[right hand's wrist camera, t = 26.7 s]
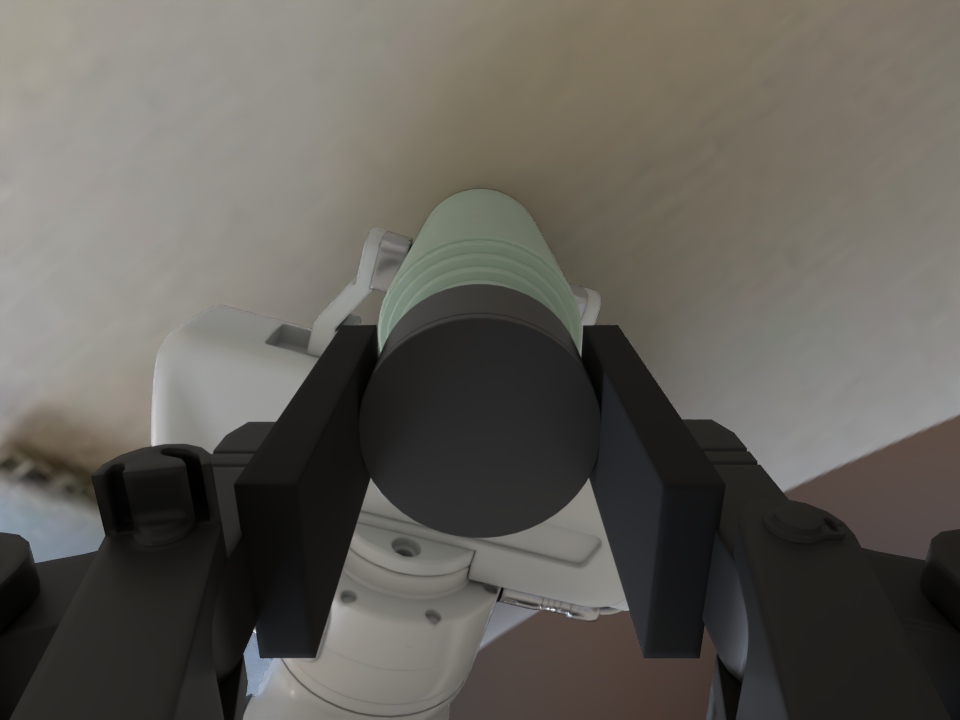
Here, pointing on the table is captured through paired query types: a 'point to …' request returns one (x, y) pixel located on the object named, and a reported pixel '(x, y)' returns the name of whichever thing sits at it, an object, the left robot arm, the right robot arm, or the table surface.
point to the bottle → (479, 259)
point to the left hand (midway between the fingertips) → (485, 261)
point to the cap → (479, 414)
